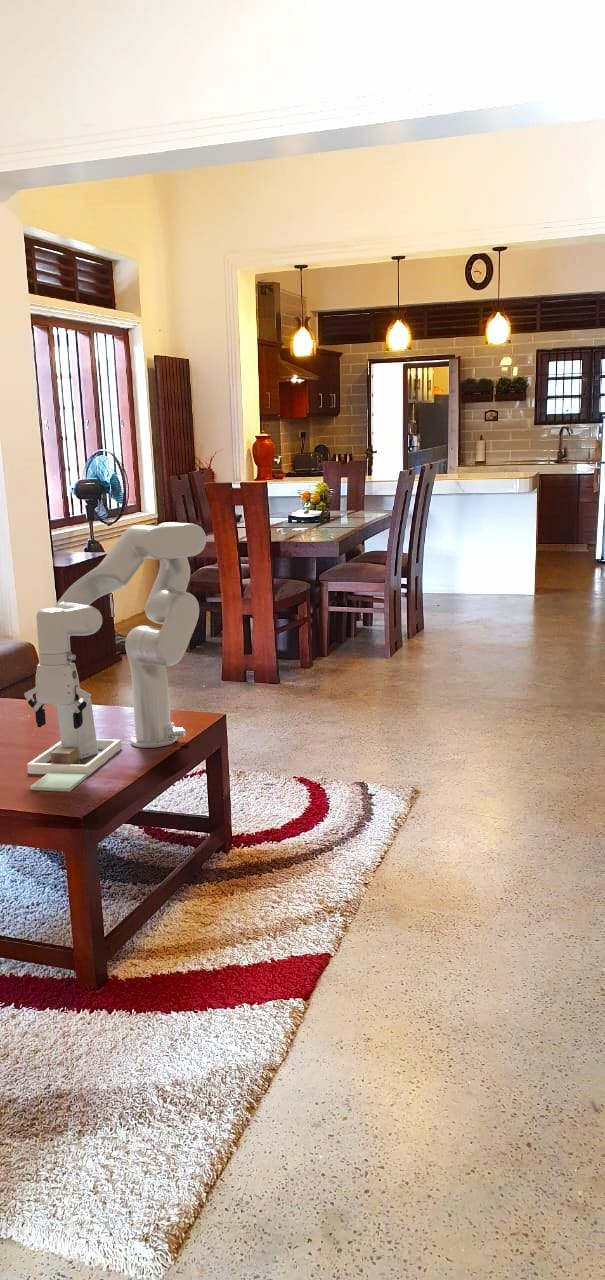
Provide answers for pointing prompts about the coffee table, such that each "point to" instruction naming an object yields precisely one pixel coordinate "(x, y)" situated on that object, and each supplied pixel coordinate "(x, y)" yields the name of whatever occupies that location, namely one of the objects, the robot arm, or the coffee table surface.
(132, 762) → the coffee table surface
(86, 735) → the skincare box
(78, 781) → the tile
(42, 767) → the cream rectangular frame
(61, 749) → the walnut block
